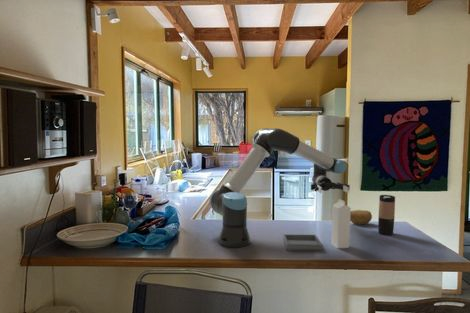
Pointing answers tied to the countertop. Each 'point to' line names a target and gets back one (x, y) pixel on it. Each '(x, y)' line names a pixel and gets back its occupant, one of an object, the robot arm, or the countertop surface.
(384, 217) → the travel mug
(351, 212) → the potato
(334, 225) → the milk
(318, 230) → the countertop surface
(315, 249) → the tray
